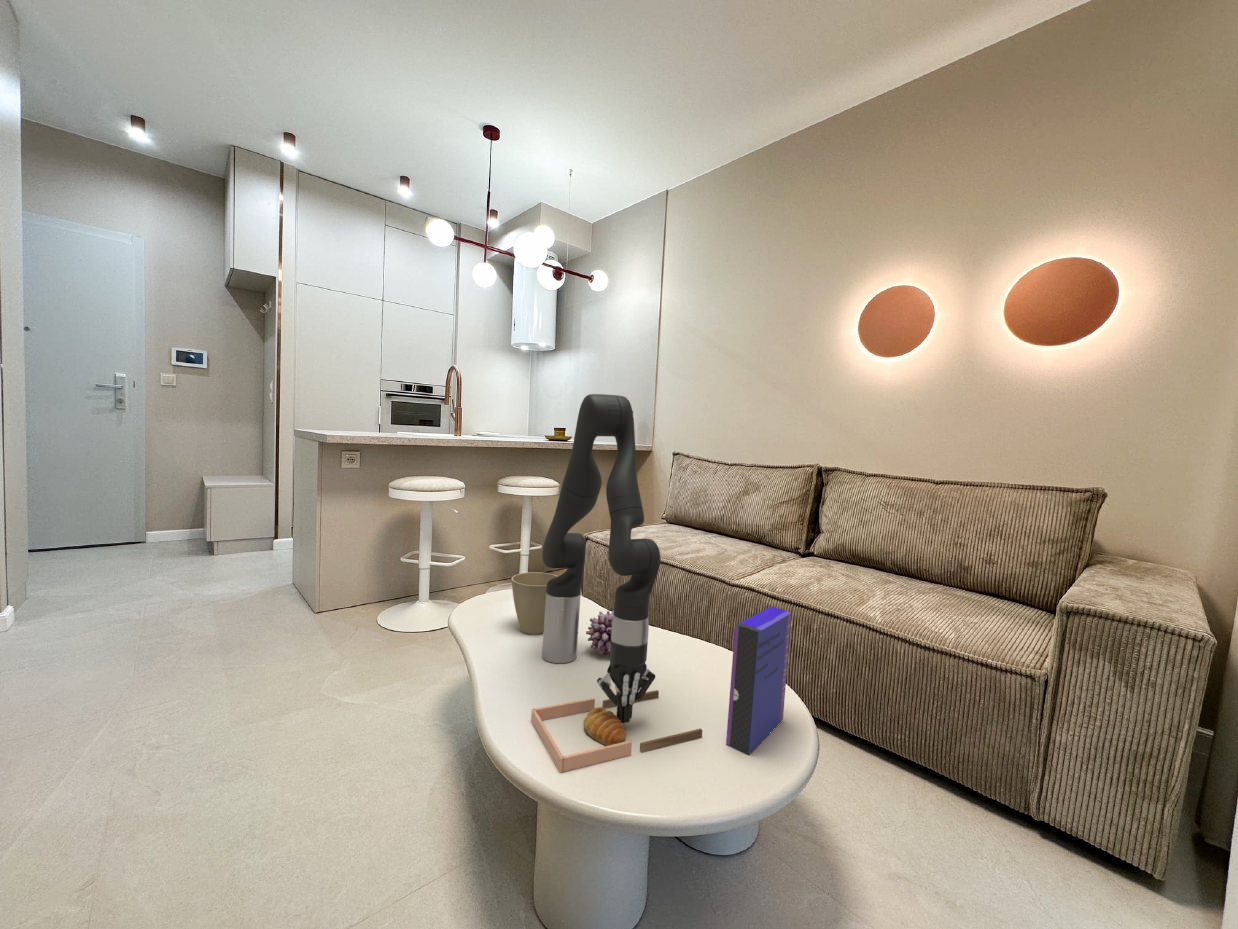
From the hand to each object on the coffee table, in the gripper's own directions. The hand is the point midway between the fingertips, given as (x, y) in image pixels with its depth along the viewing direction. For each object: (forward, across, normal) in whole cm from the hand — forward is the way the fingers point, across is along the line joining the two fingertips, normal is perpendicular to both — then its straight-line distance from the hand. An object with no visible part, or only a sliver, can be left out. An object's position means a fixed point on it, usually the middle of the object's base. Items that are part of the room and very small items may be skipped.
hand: (623, 721), depth 100 cm
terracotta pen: (+1, +10, 0) cm, 10 cm away
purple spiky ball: (+2, -13, -34) cm, 36 cm away
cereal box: (+2, -25, +11) cm, 28 cm away
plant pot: (+2, +1, -56) cm, 56 cm away
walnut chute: (+1, -6, 0) cm, 6 cm away
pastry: (+2, +4, 0) cm, 5 cm away
